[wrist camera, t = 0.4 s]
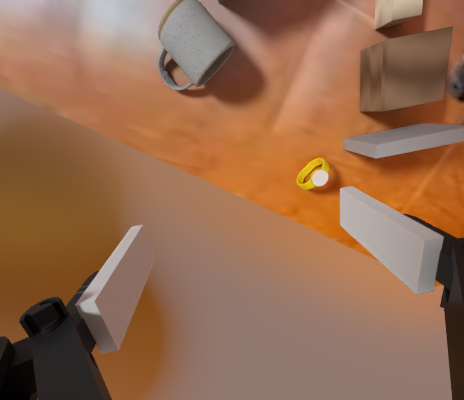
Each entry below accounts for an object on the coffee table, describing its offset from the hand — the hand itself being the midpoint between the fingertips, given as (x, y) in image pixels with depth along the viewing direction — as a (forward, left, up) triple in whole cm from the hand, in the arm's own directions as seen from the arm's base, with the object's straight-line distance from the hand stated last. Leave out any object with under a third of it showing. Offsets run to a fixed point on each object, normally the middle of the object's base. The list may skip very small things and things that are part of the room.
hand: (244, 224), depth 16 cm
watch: (+6, +14, -28) cm, 31 cm away
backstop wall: (+2, +28, -27) cm, 39 cm away
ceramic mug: (-15, -2, -28) cm, 32 cm away
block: (-7, +28, -27) cm, 40 cm away
